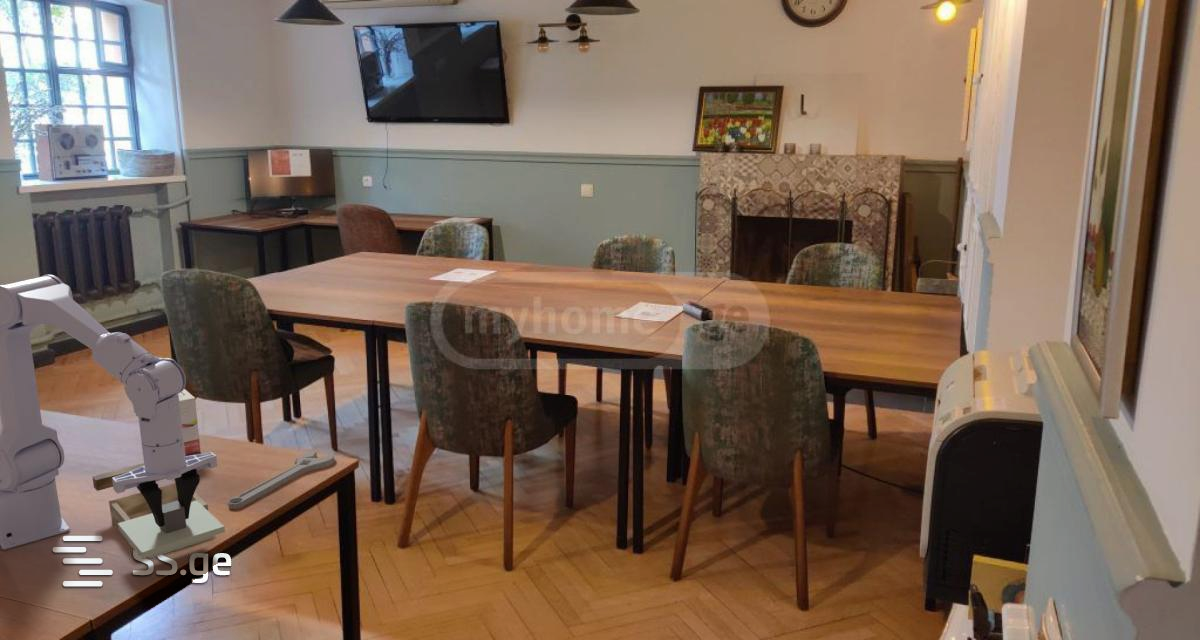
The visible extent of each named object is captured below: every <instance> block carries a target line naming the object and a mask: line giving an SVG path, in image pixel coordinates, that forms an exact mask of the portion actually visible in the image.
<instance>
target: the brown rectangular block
mask: <svg viewBox="0 0 1200 640" xmlns="http://www.w3.org/2000/svg"><path fill="white" fill-rule="evenodd" d="M142 466H144V462H143V463H140V464H137V465H133V466H127V467H124V468H120V469H117V470H112V471H108V472H104V473H100V474H96V475H92V483H93V488H94V490H96V492H99V491H103V490H107V489H110V488H113V482H112V478H113V477H116V476H120V475H122V474H125V473H128V472H130V471H133V470H135V469H137V468H140V467H142Z"/></svg>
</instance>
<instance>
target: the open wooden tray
mask: <svg viewBox="0 0 1200 640" xmlns="http://www.w3.org/2000/svg"><path fill="white" fill-rule="evenodd" d="M158 487H159V486H158ZM159 488H160V489H161V490H162V505H164V504H167V503H171V502H174V501H178V493H177V488H176V483H175V482H174V483H171V484H168V485H167V484H166V485H163V486H160V487H159ZM196 500H197V501H198V502H199V503H200V504H201V505H202V506H203V507H204V508H205V509H206V510H208V511H209V505H208V503H207V502H206V501H205V500H204V499H203V498H202V497H200V495H198V494H197V493H196V491H195V492H194V495H193V498H192V501H196ZM192 501H191V502H192ZM108 504H109V512H110V518H111V523H112V525H113V524H114V525H115V526H116V527H115V526H114V525H113V526H114V527H115V529H118V523H121V522H124V521H127V520H131V519H134V518H138V517H141V516H145V515H148V514H151V513H152V511H151V509H150V507H149V505H148V503H147V501H146V500H145V498H144V497H143V495H142V494H141V492H138V493H134V494H131V495H128V496H123V497H120V498H116V499H113V500H109V501H108ZM118 530H119V529H118ZM118 530H117V531H118ZM118 532H119V533H120V534H121V536H122V537H123V538H124V540H126V542H127V543H128V544H129V546H130V547H131V548H132V550H135V549H134V547H133V546H132V545H131V544H130V542H129V541H128V540H127V539H126V538H125V536H124V535H123V534H122V533H121V531H120V530H119V531H118Z"/></svg>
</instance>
